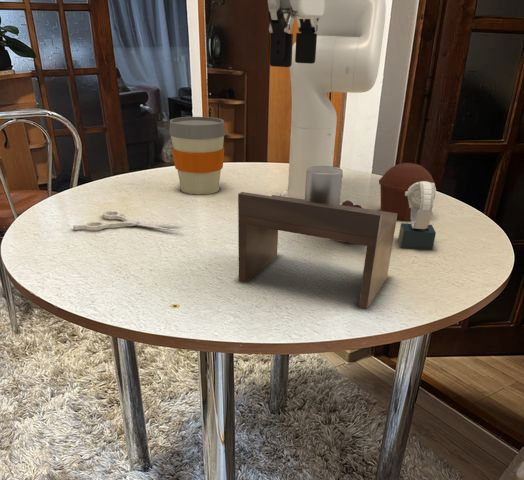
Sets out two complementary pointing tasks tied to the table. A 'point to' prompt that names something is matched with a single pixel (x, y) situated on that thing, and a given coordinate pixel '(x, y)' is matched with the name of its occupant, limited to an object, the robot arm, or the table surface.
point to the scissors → (119, 223)
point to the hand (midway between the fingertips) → (293, 64)
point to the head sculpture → (419, 217)
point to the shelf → (313, 233)
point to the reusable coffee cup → (198, 152)
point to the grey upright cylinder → (323, 185)
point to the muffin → (400, 188)
